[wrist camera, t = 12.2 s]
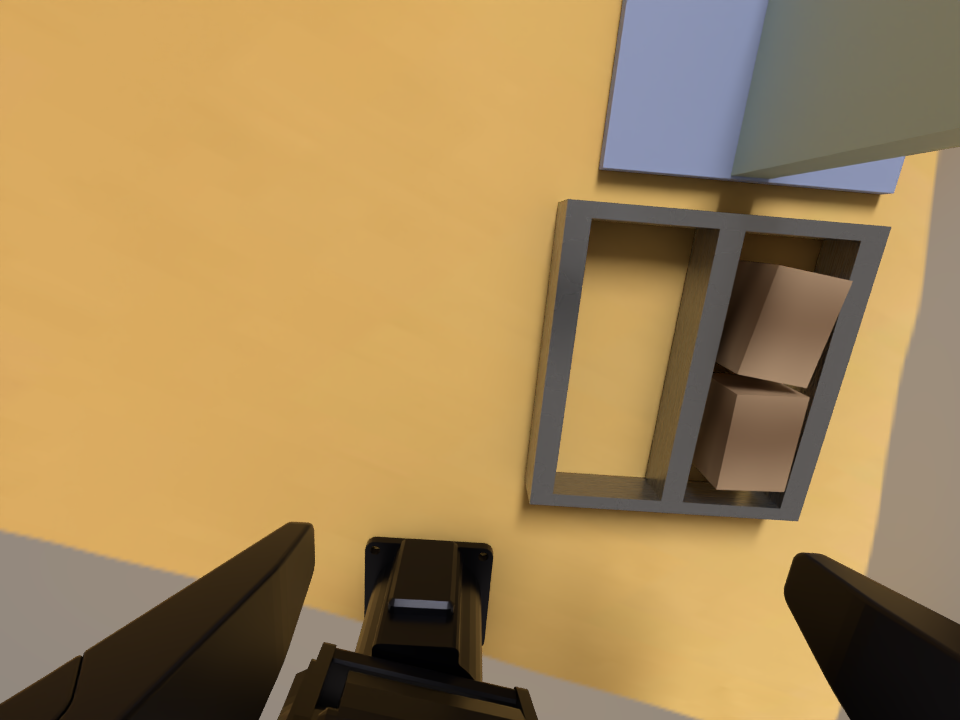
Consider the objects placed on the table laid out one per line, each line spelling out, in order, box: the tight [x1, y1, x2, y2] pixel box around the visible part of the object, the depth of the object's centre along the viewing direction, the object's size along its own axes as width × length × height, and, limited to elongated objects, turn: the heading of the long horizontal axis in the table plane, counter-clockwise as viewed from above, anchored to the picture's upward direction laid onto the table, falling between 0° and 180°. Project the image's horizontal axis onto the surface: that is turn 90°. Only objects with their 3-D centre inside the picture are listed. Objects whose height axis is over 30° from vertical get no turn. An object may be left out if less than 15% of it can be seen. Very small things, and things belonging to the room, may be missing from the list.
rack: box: [525, 199, 891, 521], centre depth 20 cm, size 13×13×2 cm
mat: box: [599, 0, 905, 194], centre depth 17 cm, size 9×12×1 cm
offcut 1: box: [715, 260, 853, 388], centre depth 19 cm, size 4×3×3 cm
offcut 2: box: [692, 373, 810, 492], centre depth 21 cm, size 4×3×3 cm
